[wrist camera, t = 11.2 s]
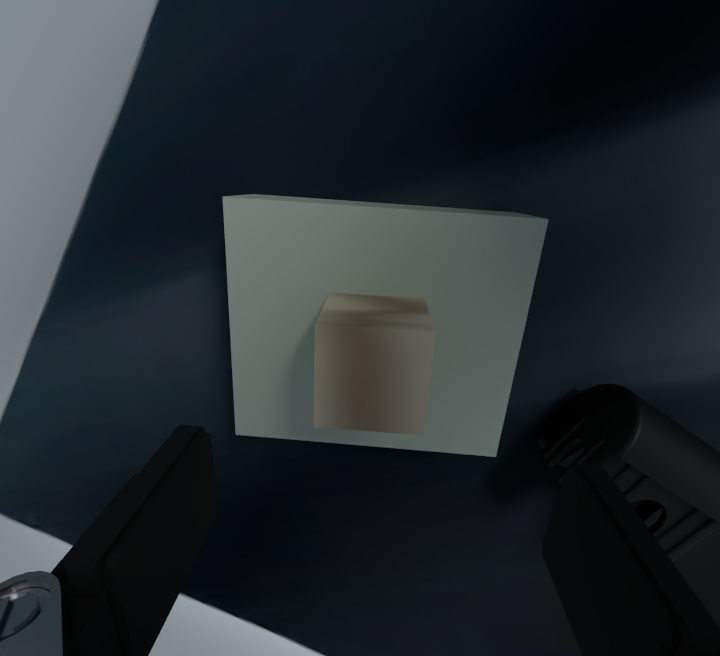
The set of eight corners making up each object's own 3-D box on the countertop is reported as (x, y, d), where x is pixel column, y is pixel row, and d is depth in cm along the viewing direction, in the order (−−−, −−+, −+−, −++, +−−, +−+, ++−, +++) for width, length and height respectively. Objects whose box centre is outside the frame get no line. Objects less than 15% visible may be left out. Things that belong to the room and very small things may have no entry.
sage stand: (515, 212, 24) (548, 219, 19) (477, 412, 29) (495, 456, 24) (253, 194, 24) (222, 196, 20) (259, 394, 29) (235, 434, 24)
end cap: (699, 434, 28) (790, 506, 22) (624, 497, 31) (688, 578, 24) (596, 362, 27) (662, 417, 21) (526, 434, 29) (565, 503, 23)
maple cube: (424, 298, 21) (436, 332, 16) (414, 382, 22) (423, 435, 18) (329, 292, 21) (314, 324, 16) (327, 376, 23) (313, 427, 18)
